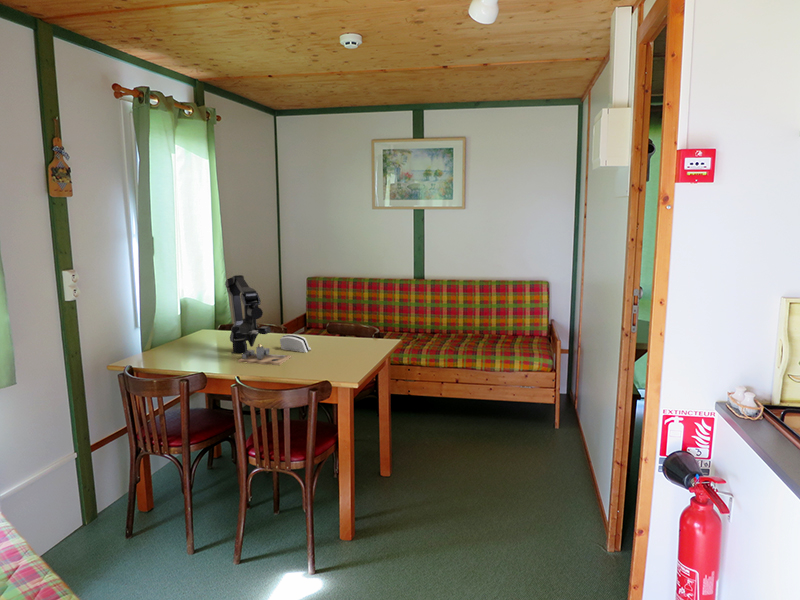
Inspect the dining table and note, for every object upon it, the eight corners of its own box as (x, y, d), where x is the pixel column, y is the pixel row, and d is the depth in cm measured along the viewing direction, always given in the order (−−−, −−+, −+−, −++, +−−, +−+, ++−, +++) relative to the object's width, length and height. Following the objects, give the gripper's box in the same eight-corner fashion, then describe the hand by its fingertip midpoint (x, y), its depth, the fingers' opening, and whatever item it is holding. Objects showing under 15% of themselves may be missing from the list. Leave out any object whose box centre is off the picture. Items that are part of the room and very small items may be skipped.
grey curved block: (311, 350, 302) (307, 334, 298) (307, 355, 298) (302, 339, 294) (286, 347, 309) (282, 331, 305) (281, 351, 306) (277, 336, 301)
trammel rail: (241, 358, 281) (241, 353, 280) (249, 354, 288) (248, 349, 288) (279, 361, 276) (279, 356, 276) (286, 356, 284) (286, 351, 284)
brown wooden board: (237, 362, 278) (237, 359, 278) (251, 355, 292) (251, 352, 291) (279, 365, 274) (279, 362, 273) (290, 357, 287) (290, 355, 287)
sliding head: (255, 359, 279) (255, 345, 278) (263, 355, 287) (262, 341, 286) (262, 359, 278) (261, 345, 277) (269, 355, 286) (269, 341, 285)
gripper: (224, 318, 272) (226, 349, 274) (260, 319, 268) (261, 351, 271) (236, 313, 283) (237, 344, 285) (270, 315, 279) (271, 346, 281)
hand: (251, 346), depth 280 cm, fingers closed
